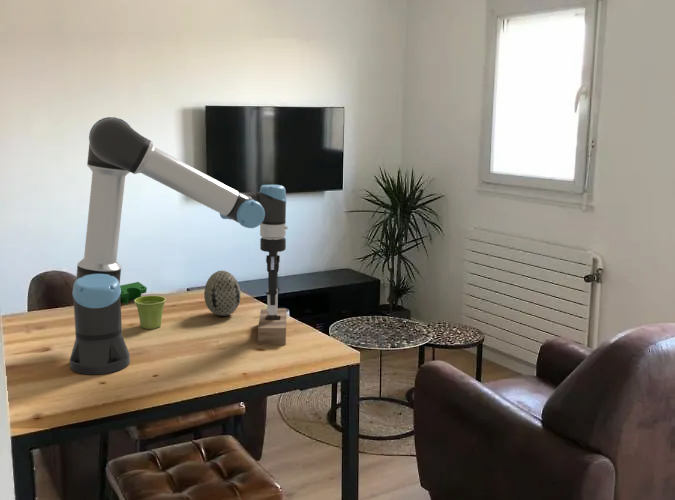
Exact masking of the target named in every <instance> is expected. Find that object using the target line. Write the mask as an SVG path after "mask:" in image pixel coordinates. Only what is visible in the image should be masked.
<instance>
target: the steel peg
mask: <svg viewBox="0 0 675 500" xmlns="http://www.w3.org/2000/svg"><path fill="white" fill-rule="evenodd" d="M266 292H268V288H267V291H266ZM266 298H267V302H266V303H267V320H277V315H268V295H267V297H266Z"/></svg>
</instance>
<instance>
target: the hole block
mask: <svg viewBox="0 0 675 500" xmlns="http://www.w3.org/2000/svg"><path fill="white" fill-rule="evenodd" d="M286 340H287V308H277V320H267V308H266V307H265V308H263V307H262V308H261V309H260V314H259V320H258V328H257V345H264V346H265V345H275V346H276V345H286V342H287V341H286Z"/></svg>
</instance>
